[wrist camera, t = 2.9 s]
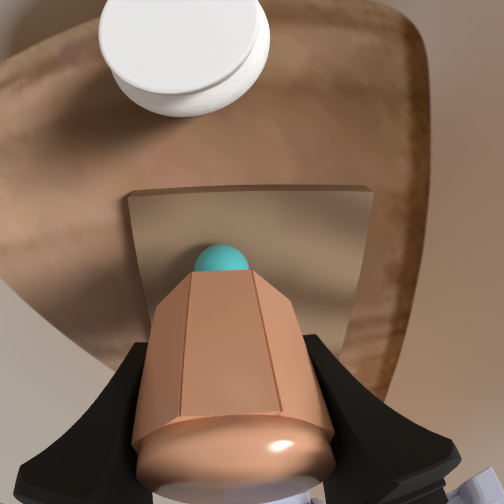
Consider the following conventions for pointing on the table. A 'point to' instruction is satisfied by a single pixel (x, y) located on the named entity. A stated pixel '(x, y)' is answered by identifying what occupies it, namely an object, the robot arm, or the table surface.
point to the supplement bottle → (184, 51)
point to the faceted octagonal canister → (229, 396)
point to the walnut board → (261, 243)
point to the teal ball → (220, 259)
